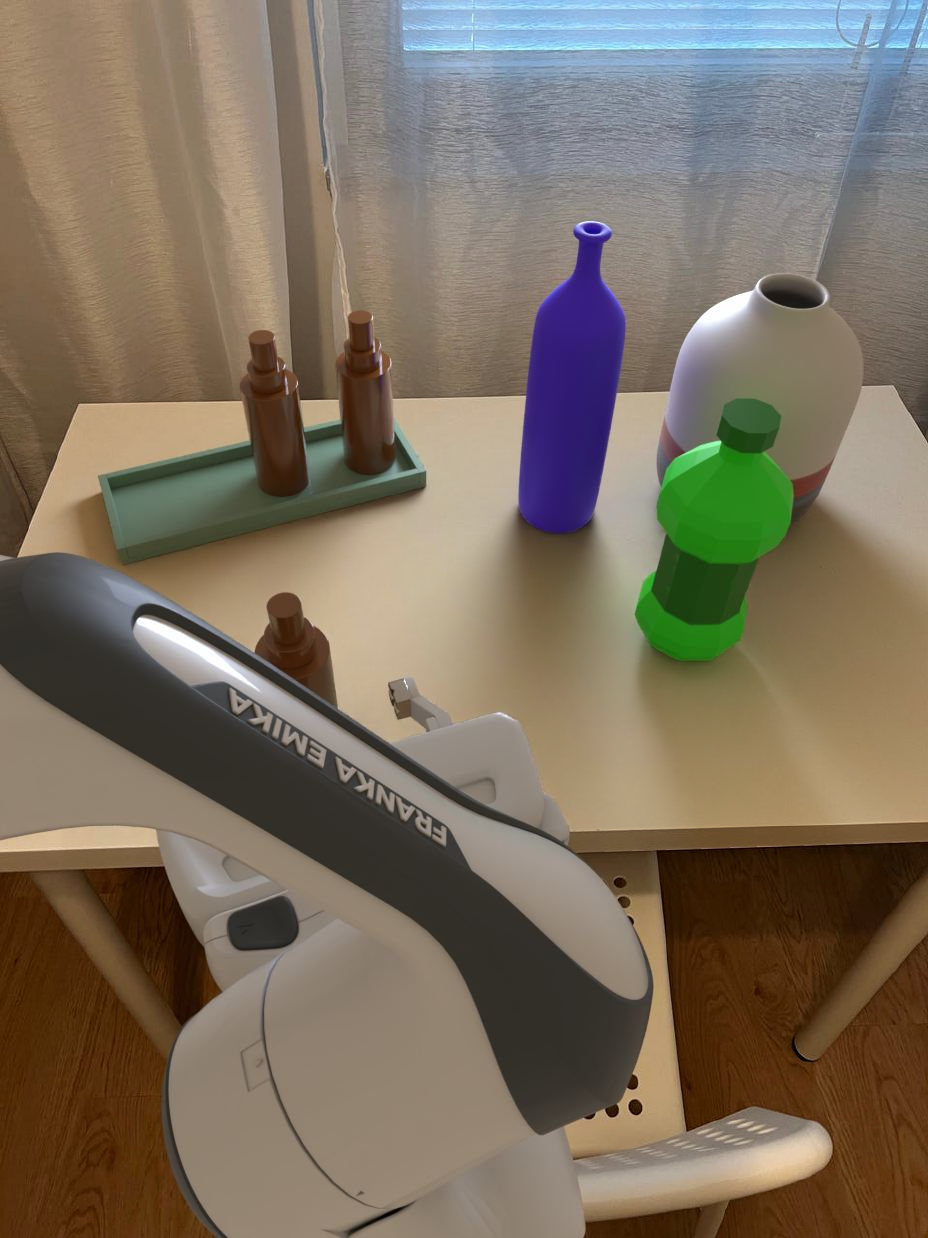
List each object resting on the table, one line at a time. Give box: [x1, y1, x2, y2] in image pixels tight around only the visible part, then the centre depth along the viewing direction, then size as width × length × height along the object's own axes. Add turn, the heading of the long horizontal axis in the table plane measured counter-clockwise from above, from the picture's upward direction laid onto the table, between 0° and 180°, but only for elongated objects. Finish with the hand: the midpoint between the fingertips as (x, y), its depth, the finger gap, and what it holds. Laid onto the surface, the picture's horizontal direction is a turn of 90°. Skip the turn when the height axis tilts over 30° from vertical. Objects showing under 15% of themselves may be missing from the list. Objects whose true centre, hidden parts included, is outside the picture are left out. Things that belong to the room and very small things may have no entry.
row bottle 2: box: [334, 309, 395, 475], centre depth 95 cm, size 6×6×17 cm
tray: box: [97, 417, 427, 566], centre depth 98 cm, size 32×12×2 cm, turn 113°
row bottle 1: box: [239, 329, 310, 497], centre depth 92 cm, size 6×6×17 cm
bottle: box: [517, 220, 627, 534], centre depth 86 cm, size 8×8×30 cm
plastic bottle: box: [634, 398, 794, 662], centre depth 77 cm, size 10×10×25 cm
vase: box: [655, 272, 864, 527], centre depth 90 cm, size 17×17×24 cm
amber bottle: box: [254, 591, 339, 709], centre depth 72 cm, size 6×6×17 cm
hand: (322, 706), depth 55 cm, fingers open, 8 cm apart
